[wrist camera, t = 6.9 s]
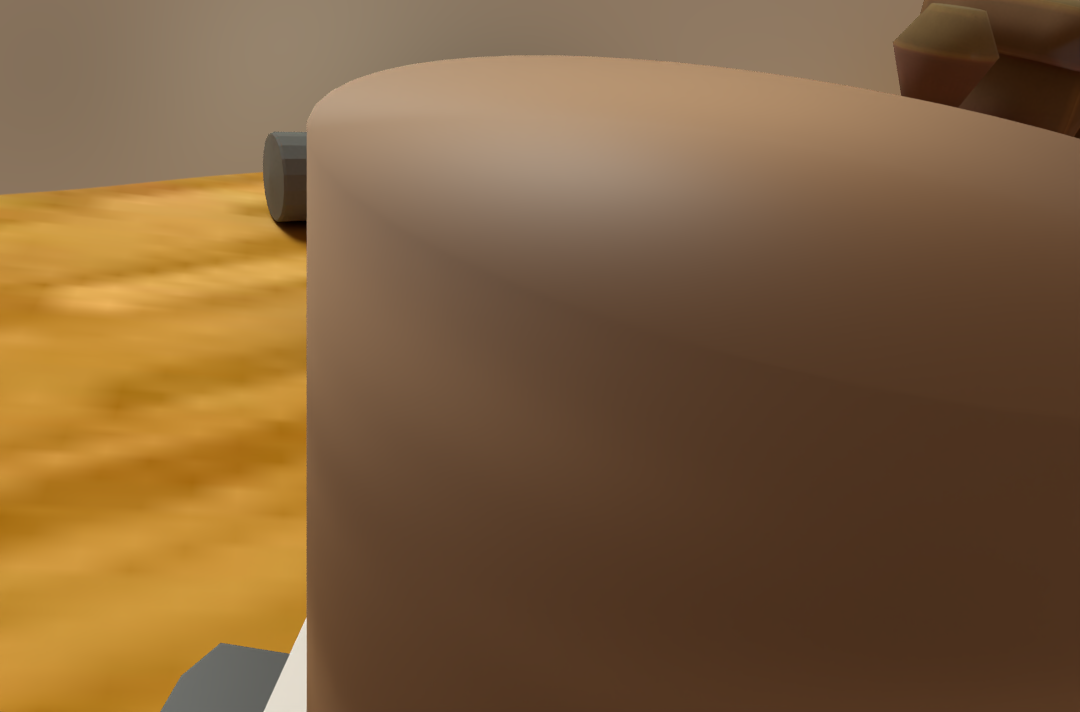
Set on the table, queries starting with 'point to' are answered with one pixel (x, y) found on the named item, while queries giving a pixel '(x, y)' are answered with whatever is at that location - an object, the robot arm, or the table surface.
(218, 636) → the table surface
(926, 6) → the wooden toy train
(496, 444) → the peg
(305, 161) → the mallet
